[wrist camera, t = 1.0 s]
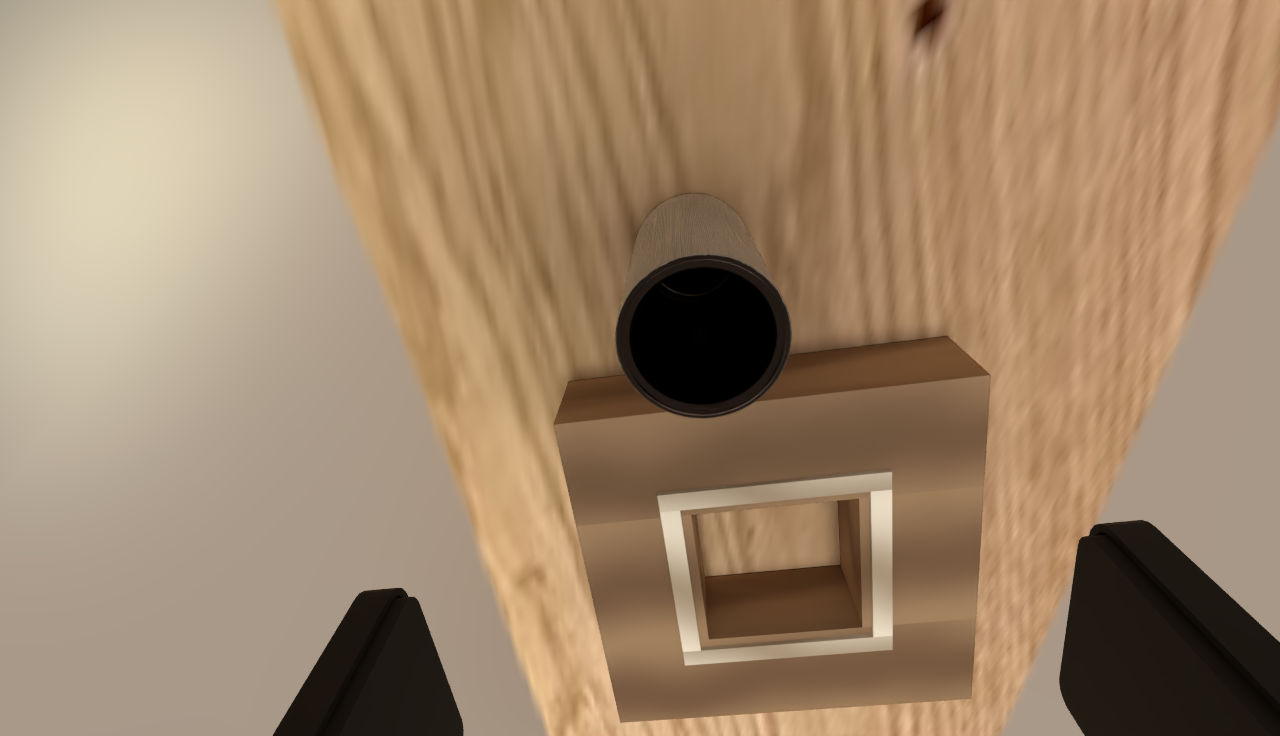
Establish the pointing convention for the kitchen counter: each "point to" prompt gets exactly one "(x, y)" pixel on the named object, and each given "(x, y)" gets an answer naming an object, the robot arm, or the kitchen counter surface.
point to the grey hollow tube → (700, 312)
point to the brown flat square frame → (780, 476)
